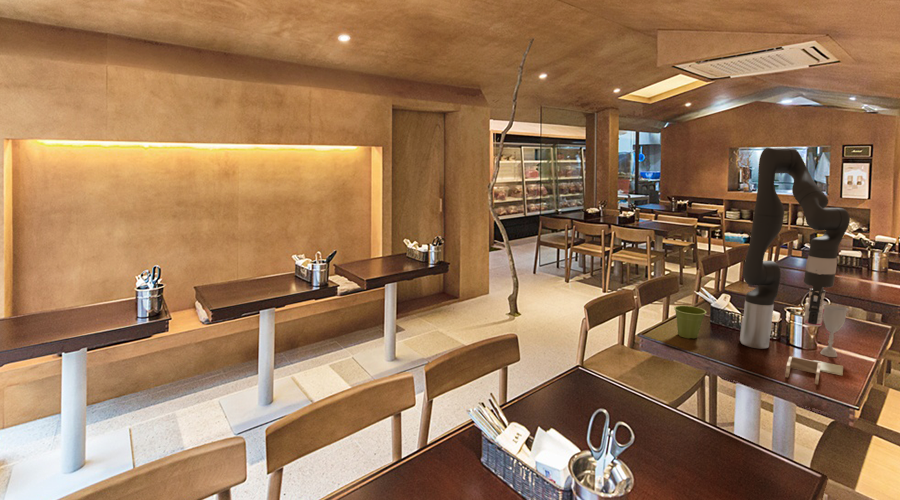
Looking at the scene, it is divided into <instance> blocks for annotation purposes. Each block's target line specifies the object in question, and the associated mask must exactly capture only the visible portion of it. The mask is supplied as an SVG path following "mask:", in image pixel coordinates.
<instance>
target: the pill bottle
mask: <svg viewBox="0 0 900 500" xmlns="http://www.w3.org/2000/svg"><path fill="white" fill-rule="evenodd" d="M820 301H821V300H820ZM823 305H825V300H824V299H823V302H822V306H820V308H819V310H820V312H819V313H818V319H817V324H810V323H808V319H809V307H810V305H809V298H808V299H807V303H806V304H805V309H804V317H803V323H804V324H805V325H808V326H811V327H821V326H822V325H823V322H824V321H823V314H824V306H823ZM812 308H815V309H817V306H812Z"/></svg>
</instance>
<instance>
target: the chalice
mask: <svg viewBox="0 0 900 500" xmlns="http://www.w3.org/2000/svg"><path fill="white" fill-rule="evenodd" d="M823 306H824V314H823V321H822V322H823V323H824V327H825V329H826V330H827V331H828V332H829V336H828V338H829V339H828V340H827V343H828V345H827V346H825V347H823V348H822V349H821V351H820V352H819V353H820V354H821V355H823V356H825V357H829V358H838V354H837V350H836V349H835V348H834V347H833V344H835V343H834V338H835V337H834V334H835V333H837V332H839V330H840V329H841V328H842V327H843V326H844V324H845V322H846V315H847V312H848V311H849V310H850V309H849V308H848V307H845V306H841V305H836V304H824V305H823Z"/></svg>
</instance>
